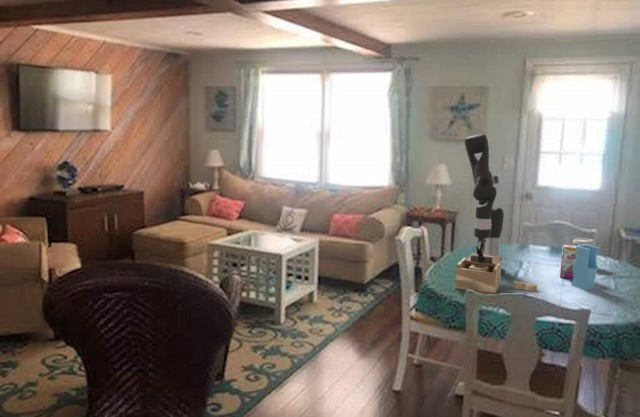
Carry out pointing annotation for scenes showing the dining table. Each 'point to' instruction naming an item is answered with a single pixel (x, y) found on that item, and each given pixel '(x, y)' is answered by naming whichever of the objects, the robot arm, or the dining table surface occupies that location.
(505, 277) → the dining table surface
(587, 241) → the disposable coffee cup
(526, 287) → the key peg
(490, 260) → the toolbox lid
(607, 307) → the dining table surface
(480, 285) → the toolbox
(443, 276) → the dining table surface
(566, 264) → the candy bar box
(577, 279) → the light-blue file holder
